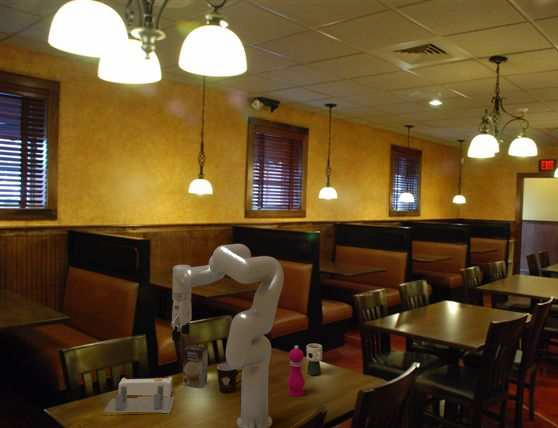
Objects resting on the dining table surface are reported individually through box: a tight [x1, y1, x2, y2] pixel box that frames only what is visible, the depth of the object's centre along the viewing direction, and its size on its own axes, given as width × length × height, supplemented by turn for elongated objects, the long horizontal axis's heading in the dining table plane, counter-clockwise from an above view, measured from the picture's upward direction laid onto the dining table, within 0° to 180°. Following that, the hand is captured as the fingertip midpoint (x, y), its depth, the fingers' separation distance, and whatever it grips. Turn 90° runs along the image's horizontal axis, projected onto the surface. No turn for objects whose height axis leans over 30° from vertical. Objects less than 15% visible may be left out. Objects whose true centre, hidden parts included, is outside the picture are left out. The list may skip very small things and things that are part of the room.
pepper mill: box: [286, 345, 306, 397], centre depth 204 cm, size 7×7×20 cm
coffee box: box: [182, 344, 209, 389], centre depth 213 cm, size 9×6×16 cm
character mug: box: [306, 343, 323, 376], centre depth 227 cm, size 11×7×13 cm, turn 24°
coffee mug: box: [216, 362, 243, 395], centre depth 206 cm, size 12×9×10 cm
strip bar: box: [118, 376, 173, 397], centre depth 201 cm, size 7×20×7 cm, turn 95°
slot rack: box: [103, 386, 175, 414], centre depth 189 cm, size 12×24×6 cm, turn 95°
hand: (180, 337), depth 202 cm, fingers open, 9 cm apart
